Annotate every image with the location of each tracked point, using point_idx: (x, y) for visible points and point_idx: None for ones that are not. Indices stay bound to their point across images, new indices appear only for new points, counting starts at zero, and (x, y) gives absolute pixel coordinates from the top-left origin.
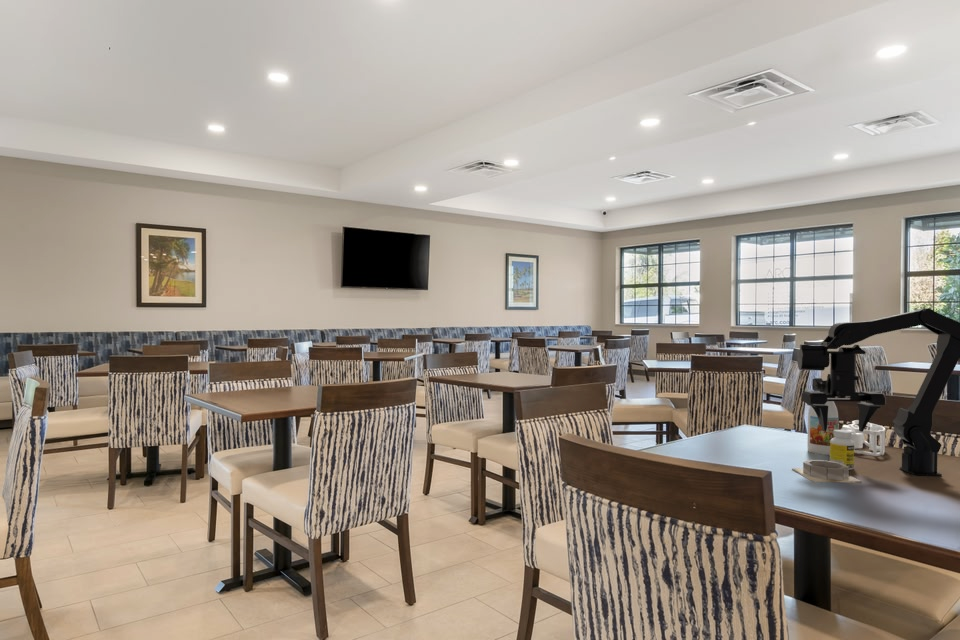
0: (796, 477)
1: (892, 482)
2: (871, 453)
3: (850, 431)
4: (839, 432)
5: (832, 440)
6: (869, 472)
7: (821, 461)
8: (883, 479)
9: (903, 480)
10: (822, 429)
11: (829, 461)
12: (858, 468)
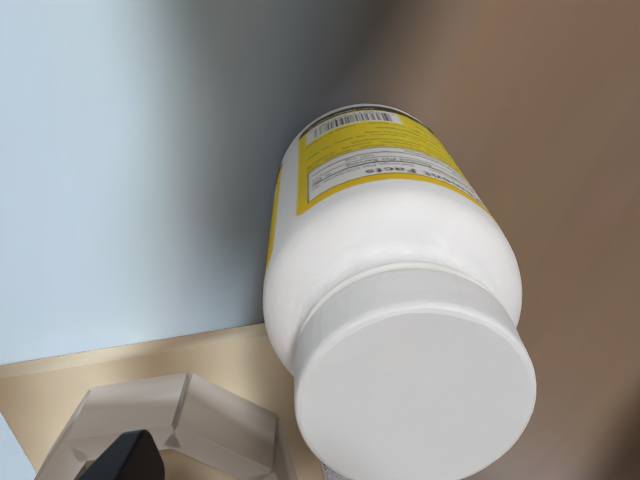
0: (21, 476)
1: (536, 447)
2: None
3: (524, 415)
4: (342, 467)
5: (273, 346)
6: (527, 254)
7: None
8: None
9: (635, 394)
10: (118, 443)
11: (204, 453)
12: (506, 145)
